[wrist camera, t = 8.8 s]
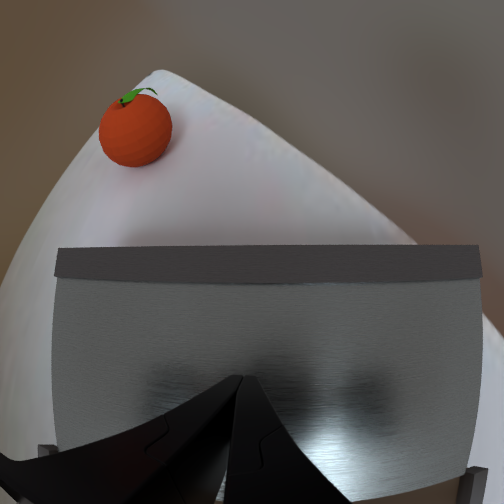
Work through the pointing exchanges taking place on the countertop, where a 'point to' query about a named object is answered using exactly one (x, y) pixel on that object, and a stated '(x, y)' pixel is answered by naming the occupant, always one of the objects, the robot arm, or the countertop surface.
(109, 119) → the clementine
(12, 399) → the countertop surface
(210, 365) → the panel
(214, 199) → the countertop surface
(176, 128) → the countertop surface
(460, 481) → the tray
